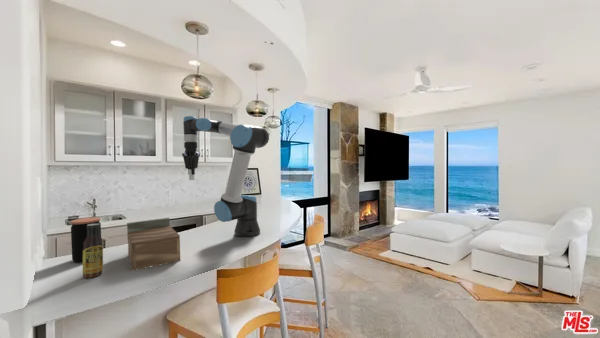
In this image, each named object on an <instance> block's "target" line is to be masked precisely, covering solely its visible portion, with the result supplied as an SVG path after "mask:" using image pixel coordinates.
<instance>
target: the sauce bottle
mask: <svg viewBox="0 0 600 338" xmlns="http://www.w3.org/2000/svg"><path fill="white" fill-rule="evenodd" d="M99 227H100V224H88V225H87V227H86V228H87V237H86V239H85V241H84V243H83V263H82V276H83V278H84V279H91V278H96V277H99V276H101V275H102V274H103V270H104V242H103V241H104V240H103V238H102V236H101V237H100V236H99Z"/></svg>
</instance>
